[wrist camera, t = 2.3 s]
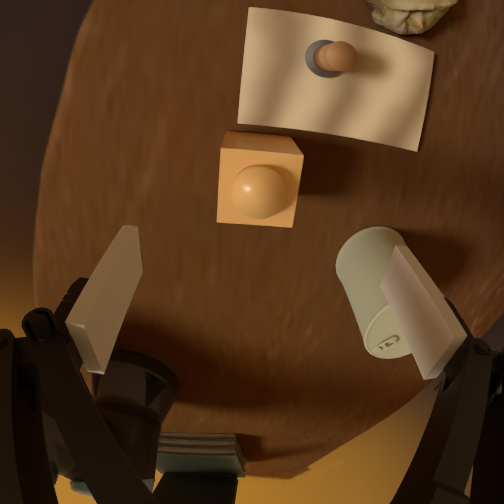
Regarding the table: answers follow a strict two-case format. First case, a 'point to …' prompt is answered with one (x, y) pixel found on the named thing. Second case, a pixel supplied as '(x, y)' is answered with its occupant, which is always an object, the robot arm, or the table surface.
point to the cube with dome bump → (258, 179)
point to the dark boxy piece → (198, 468)
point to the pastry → (408, 14)
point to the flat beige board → (333, 78)
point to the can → (372, 289)
